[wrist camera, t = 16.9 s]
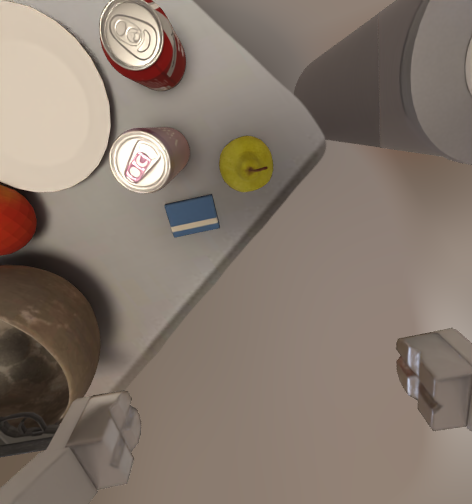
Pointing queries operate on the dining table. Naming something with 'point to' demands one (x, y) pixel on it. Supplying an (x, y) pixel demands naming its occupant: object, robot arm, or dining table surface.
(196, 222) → the notebook
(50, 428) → the handgun
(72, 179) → the plate
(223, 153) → the fruit
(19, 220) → the fruit
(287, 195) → the dining table surface
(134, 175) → the beverage can
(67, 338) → the bowl
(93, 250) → the dining table surface
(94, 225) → the dining table surface
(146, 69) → the soda can
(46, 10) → the dining table surface
